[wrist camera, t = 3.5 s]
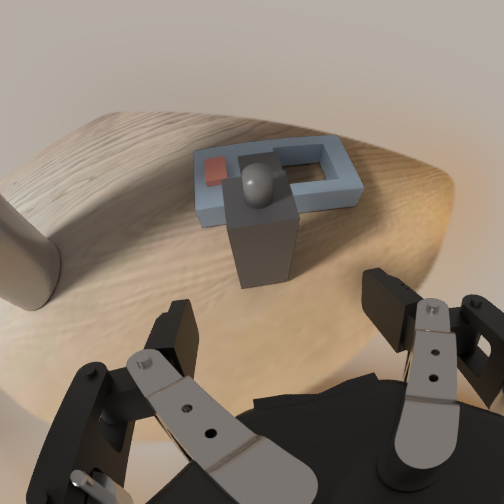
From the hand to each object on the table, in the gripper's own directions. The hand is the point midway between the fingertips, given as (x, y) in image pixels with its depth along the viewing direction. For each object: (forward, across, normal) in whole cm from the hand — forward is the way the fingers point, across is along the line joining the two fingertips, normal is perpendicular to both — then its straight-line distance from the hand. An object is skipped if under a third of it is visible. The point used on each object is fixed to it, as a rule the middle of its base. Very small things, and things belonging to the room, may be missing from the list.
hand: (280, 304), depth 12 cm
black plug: (+12, 0, +3) cm, 13 cm away
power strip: (+18, -3, -3) cm, 19 cm away
